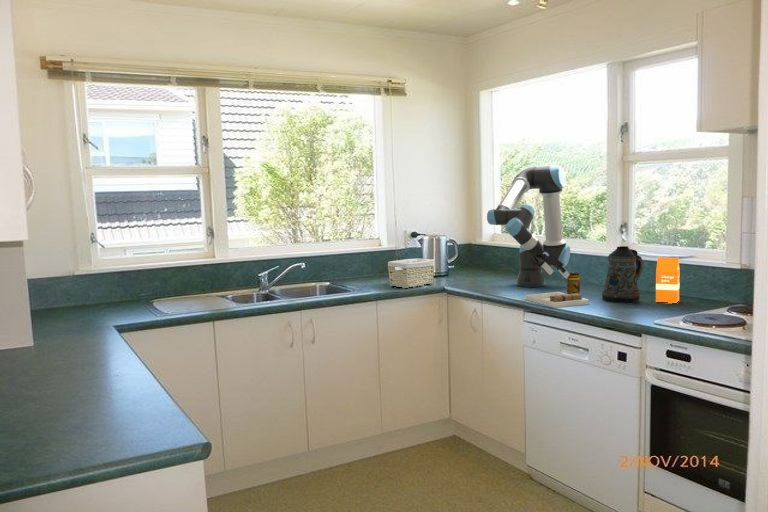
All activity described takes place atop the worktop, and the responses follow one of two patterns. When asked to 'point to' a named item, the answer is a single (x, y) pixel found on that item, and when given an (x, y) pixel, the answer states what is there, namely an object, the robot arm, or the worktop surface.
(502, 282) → the worktop surface
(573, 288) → the condiment
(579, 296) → the block
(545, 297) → the tray
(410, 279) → the storage basket
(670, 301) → the orange juice
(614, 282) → the beer stein
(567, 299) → the block
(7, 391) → the worktop surface
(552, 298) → the block
